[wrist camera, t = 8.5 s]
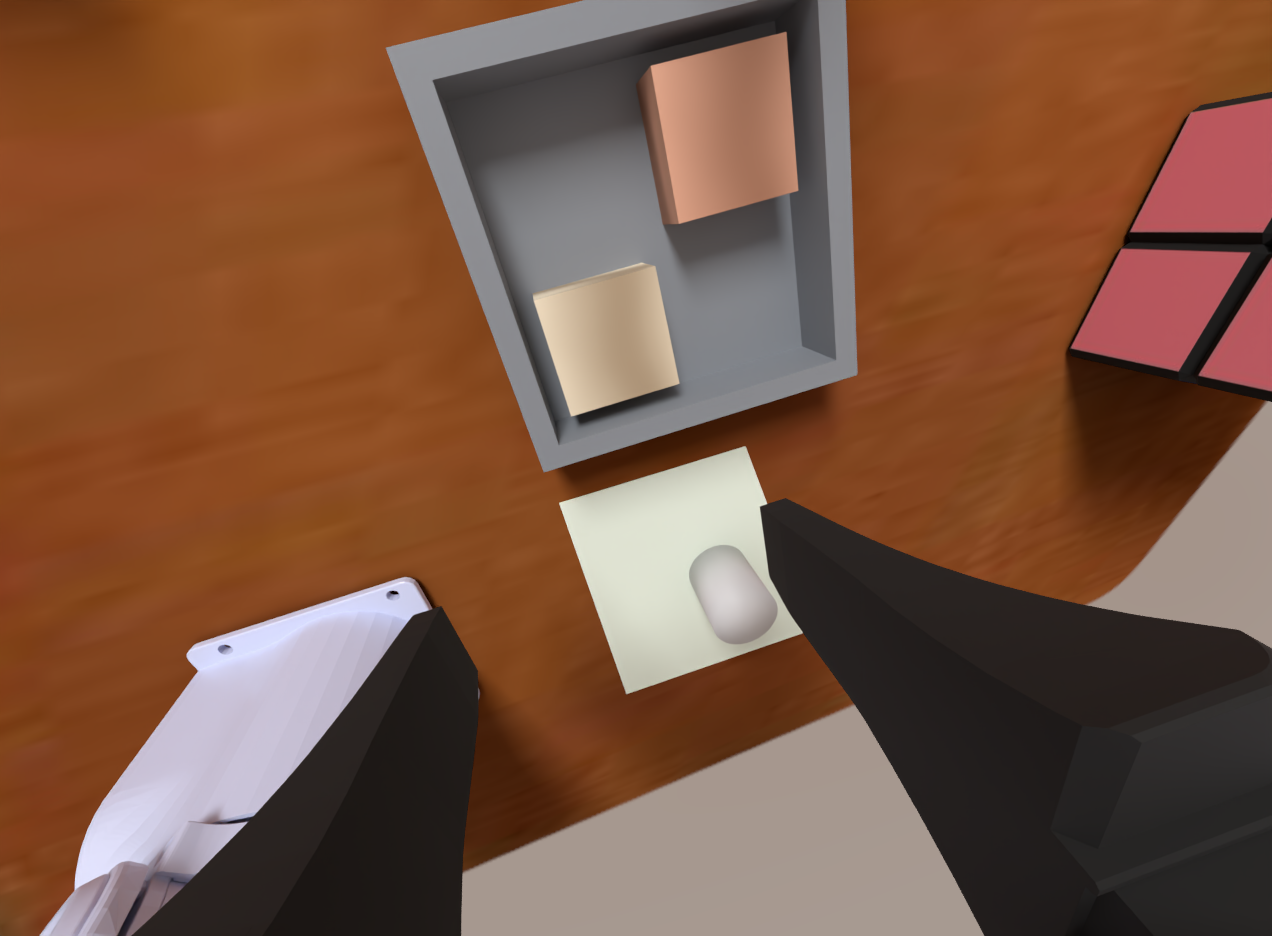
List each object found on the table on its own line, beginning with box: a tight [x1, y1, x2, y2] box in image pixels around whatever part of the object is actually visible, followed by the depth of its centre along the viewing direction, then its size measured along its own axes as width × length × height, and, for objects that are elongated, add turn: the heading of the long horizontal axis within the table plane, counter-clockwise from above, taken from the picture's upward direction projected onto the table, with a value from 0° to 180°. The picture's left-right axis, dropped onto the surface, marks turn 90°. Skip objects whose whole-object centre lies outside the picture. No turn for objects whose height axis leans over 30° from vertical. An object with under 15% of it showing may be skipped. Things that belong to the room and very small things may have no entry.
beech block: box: [533, 263, 680, 417], centre depth 18 cm, size 4×4×2 cm
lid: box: [559, 446, 803, 694], centre depth 24 cm, size 13×13×4 cm
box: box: [386, 0, 857, 472], centre depth 17 cm, size 12×12×3 cm
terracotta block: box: [636, 32, 798, 225], centre depth 16 cm, size 4×4×2 cm
